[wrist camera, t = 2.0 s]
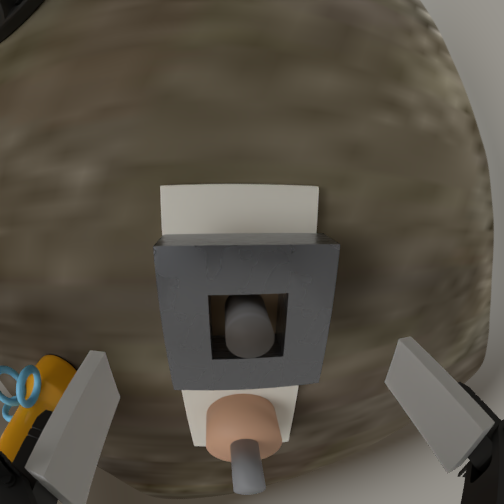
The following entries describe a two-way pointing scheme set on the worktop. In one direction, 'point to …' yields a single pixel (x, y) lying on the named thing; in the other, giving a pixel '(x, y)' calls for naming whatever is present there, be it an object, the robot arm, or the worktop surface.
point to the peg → (243, 437)
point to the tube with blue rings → (32, 398)
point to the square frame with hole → (244, 283)
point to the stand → (245, 322)
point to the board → (238, 221)
